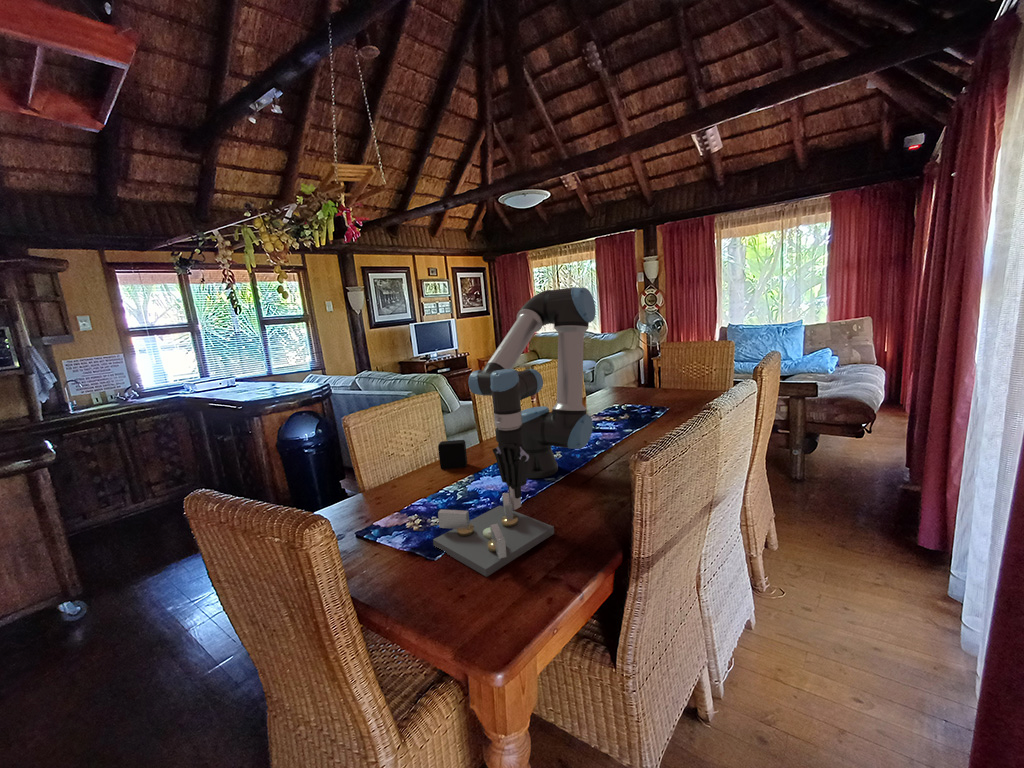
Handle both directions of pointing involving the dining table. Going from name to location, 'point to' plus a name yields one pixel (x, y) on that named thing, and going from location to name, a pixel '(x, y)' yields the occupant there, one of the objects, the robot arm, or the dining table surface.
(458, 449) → the electronic device
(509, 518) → the knob
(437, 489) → the dining table surface
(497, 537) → the knob
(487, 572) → the base plate
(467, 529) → the knob
